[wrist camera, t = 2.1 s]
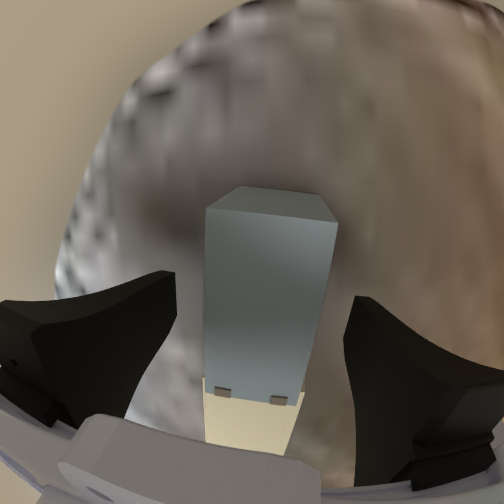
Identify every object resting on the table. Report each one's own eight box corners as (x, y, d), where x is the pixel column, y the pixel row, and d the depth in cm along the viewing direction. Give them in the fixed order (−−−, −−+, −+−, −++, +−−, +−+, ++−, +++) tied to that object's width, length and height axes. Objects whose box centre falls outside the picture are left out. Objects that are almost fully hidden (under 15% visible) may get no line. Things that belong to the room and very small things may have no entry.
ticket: (304, 338, 17) (304, 393, 12) (280, 430, 20) (275, 475, 16) (222, 327, 17) (201, 379, 13) (220, 421, 21) (207, 465, 16)
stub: (319, 194, 14) (338, 224, 8) (297, 329, 17) (295, 407, 11) (240, 185, 14) (204, 208, 9) (231, 321, 17) (204, 394, 11)
